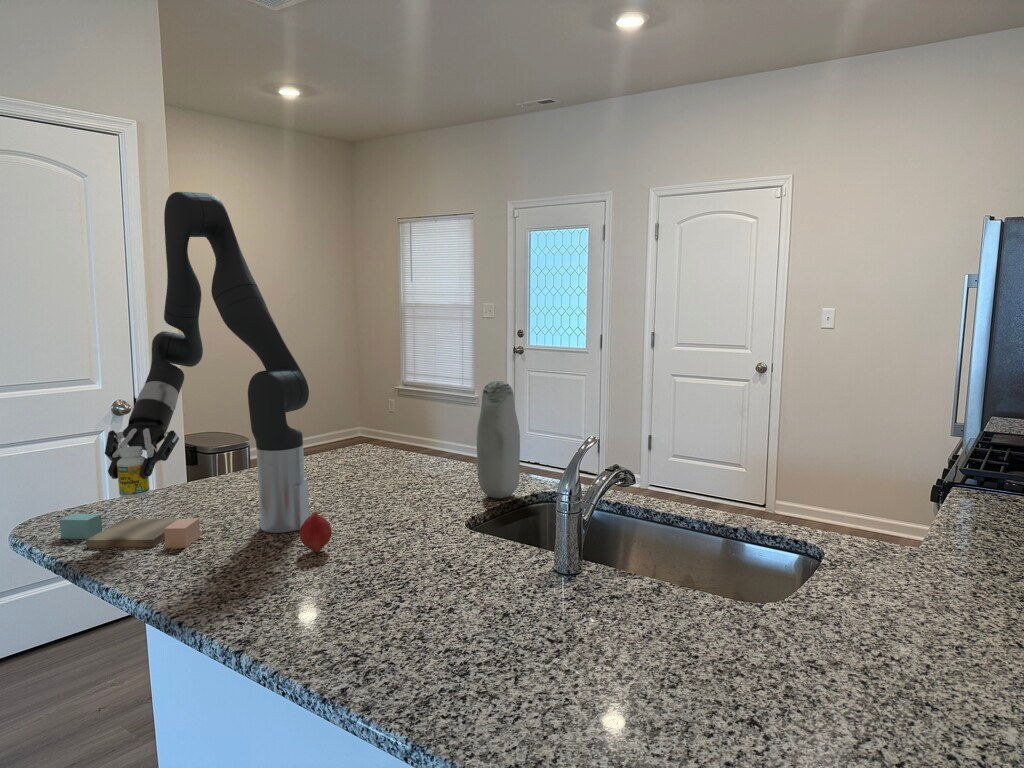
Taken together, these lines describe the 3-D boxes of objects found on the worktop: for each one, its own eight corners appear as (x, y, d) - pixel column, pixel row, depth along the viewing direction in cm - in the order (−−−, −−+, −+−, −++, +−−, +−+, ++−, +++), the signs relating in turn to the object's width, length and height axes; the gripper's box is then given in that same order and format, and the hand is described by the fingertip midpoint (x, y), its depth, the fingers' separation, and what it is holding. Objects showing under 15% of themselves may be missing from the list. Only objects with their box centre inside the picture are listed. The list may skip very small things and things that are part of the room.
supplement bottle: (153, 490, 141) (150, 444, 140) (143, 498, 136) (140, 450, 135) (125, 491, 141) (122, 445, 139) (114, 499, 135) (110, 451, 134)
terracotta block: (180, 537, 138) (179, 518, 138) (200, 537, 138) (198, 518, 138) (165, 548, 132) (164, 528, 132) (186, 548, 132) (184, 528, 132)
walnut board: (185, 525, 146) (184, 518, 146) (153, 547, 133) (153, 539, 133) (123, 525, 146) (123, 519, 145) (86, 547, 133) (85, 540, 133)
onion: (293, 554, 128) (291, 512, 127) (315, 544, 133) (314, 504, 132) (317, 559, 126) (315, 517, 125) (338, 549, 131) (337, 508, 130)
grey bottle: (472, 494, 167) (470, 380, 164) (511, 489, 171) (510, 378, 167) (485, 505, 158) (483, 384, 155) (526, 500, 161) (525, 382, 158)
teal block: (102, 532, 142) (101, 514, 141) (89, 539, 138) (87, 520, 137) (75, 532, 142) (73, 513, 142) (61, 538, 138) (59, 519, 138)
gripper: (113, 397, 143) (82, 467, 133) (181, 397, 143) (156, 467, 133) (128, 417, 149) (100, 486, 139) (194, 417, 149) (171, 486, 139)
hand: (128, 476), depth 136 cm, fingers closed on supplement bottle, 5 cm apart
